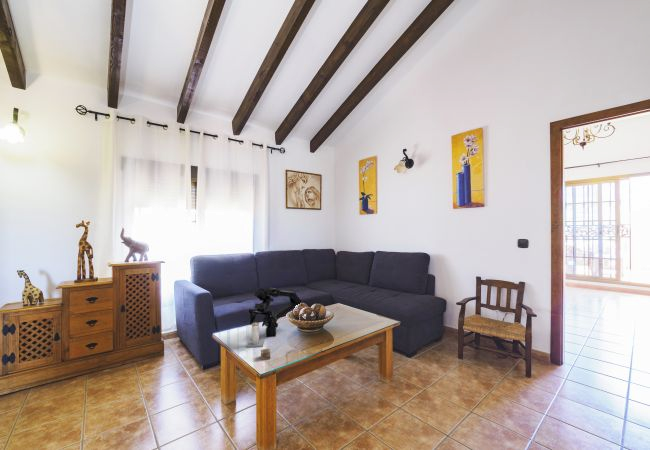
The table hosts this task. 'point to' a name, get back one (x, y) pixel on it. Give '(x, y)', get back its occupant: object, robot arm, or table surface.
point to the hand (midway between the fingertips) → (256, 325)
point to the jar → (255, 333)
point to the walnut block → (265, 354)
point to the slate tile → (260, 344)
